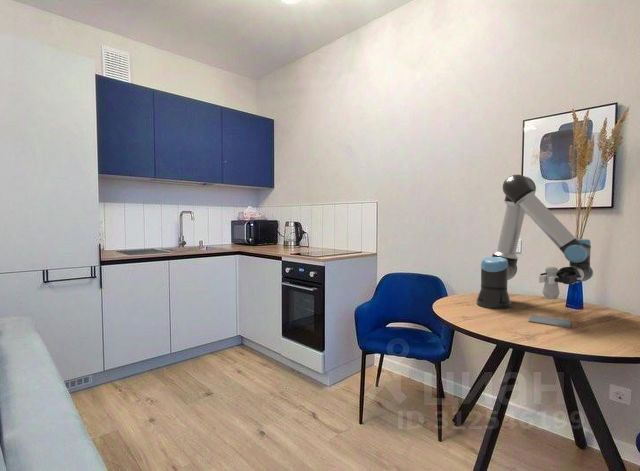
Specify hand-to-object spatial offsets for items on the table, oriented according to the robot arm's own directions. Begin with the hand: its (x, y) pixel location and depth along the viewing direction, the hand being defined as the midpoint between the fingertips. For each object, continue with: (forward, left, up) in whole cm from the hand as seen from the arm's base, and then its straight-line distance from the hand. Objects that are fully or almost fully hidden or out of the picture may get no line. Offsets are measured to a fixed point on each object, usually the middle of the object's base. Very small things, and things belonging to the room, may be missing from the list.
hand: (544, 280), depth 139 cm
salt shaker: (+2, +5, -8) cm, 10 cm away
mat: (+2, +5, -18) cm, 19 cm away
